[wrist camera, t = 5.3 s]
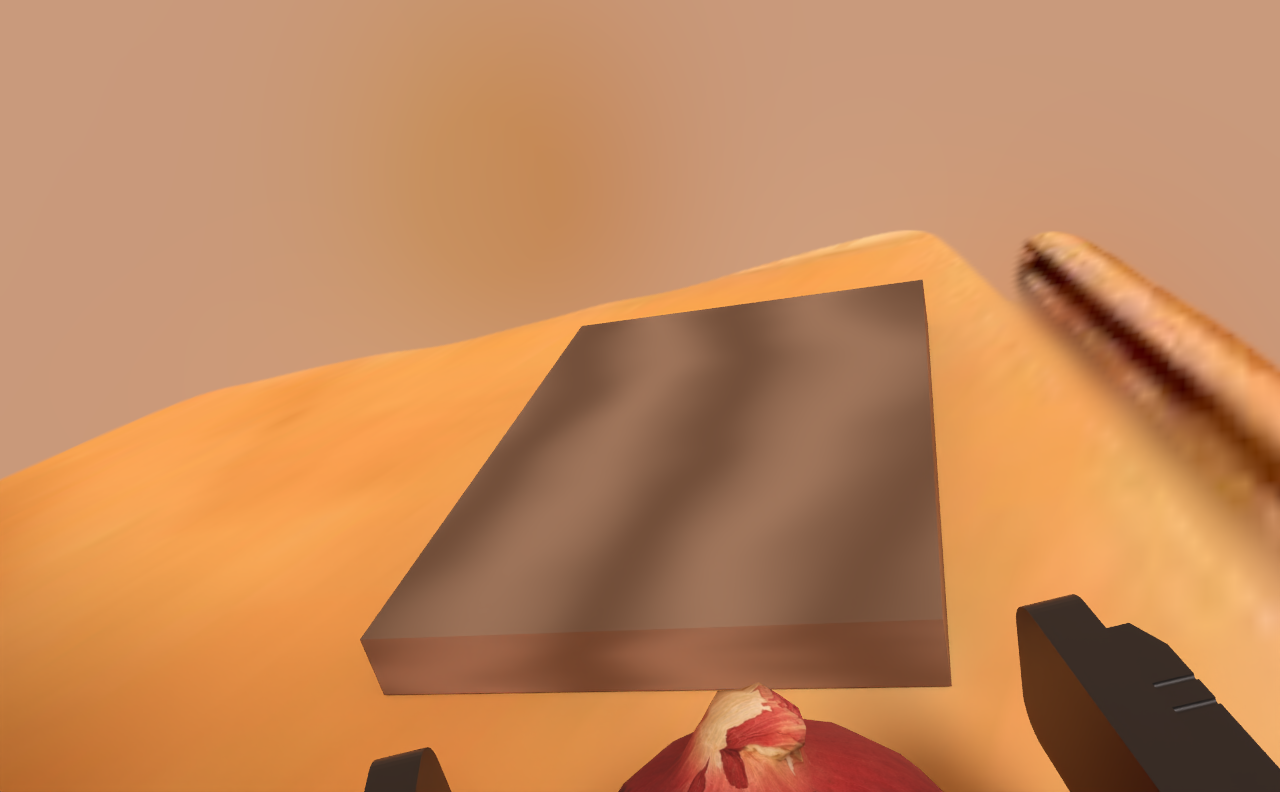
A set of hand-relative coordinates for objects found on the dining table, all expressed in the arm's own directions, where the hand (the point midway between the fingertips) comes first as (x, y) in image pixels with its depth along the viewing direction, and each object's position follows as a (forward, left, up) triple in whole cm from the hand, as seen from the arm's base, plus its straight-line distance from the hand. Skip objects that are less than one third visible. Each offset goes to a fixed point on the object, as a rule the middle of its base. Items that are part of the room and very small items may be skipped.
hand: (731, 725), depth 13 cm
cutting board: (-4, +17, -6) cm, 19 cm away
